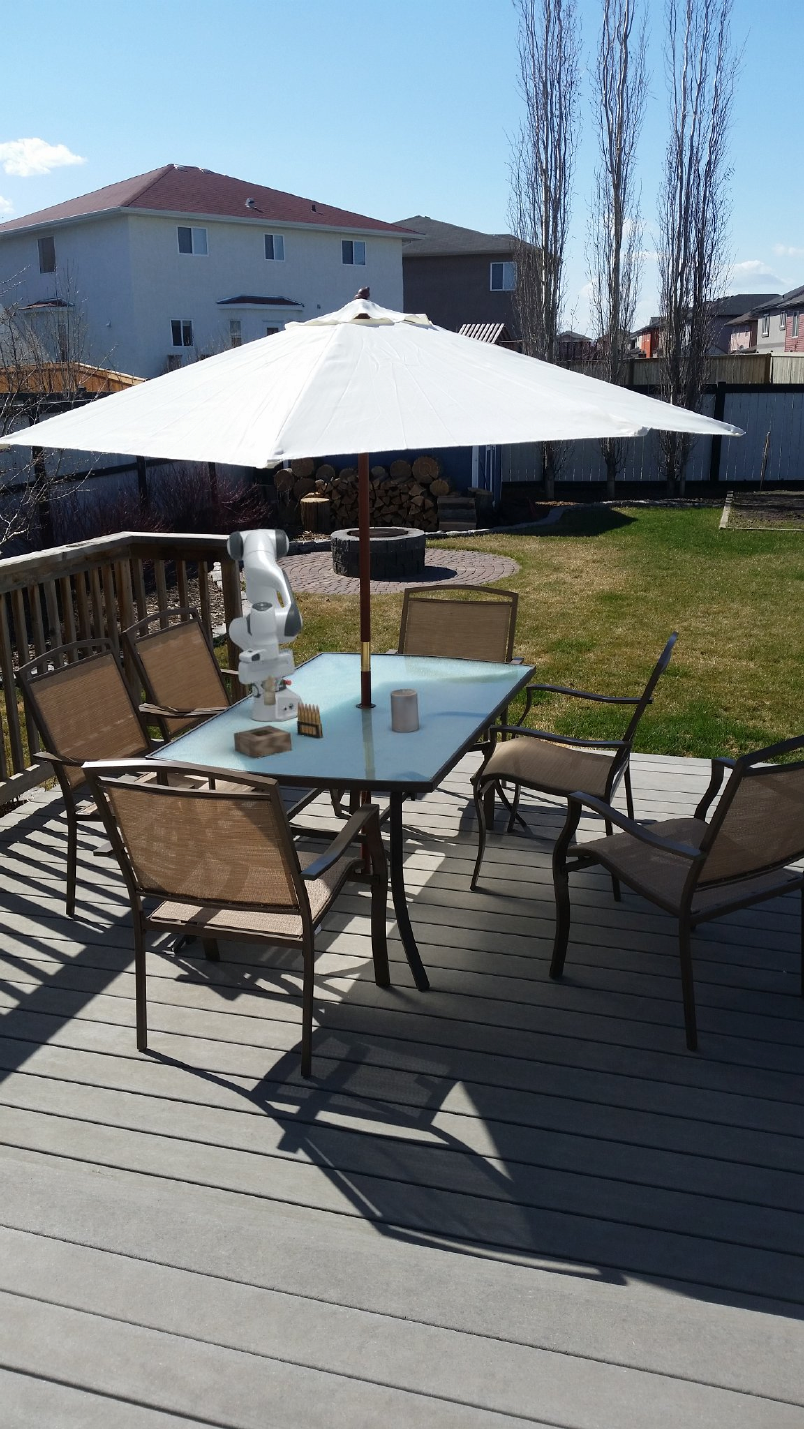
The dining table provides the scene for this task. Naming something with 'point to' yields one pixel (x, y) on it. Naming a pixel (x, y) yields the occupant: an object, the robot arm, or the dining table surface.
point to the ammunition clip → (309, 721)
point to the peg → (269, 691)
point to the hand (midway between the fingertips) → (268, 692)
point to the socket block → (262, 741)
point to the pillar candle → (404, 710)
